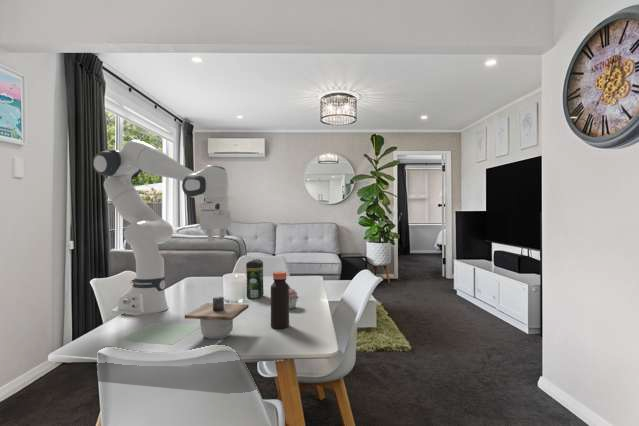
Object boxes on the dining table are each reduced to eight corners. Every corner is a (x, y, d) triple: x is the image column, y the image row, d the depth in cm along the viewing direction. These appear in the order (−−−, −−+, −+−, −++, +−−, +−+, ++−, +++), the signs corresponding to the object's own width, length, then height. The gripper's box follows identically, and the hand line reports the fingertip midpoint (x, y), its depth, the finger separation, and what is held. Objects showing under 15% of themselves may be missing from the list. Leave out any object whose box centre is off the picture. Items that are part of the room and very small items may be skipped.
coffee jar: (249, 294, 187) (249, 258, 187) (265, 294, 186) (264, 258, 186) (244, 299, 177) (244, 261, 177) (260, 299, 176) (260, 261, 176)
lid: (184, 318, 118) (184, 302, 118) (206, 305, 134) (206, 292, 134) (231, 320, 116) (231, 304, 116) (248, 307, 131) (248, 293, 131)
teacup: (224, 343, 117) (224, 318, 117) (193, 341, 119) (193, 317, 119) (241, 330, 131) (241, 307, 131) (213, 328, 133) (213, 306, 133)
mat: (116, 342, 119) (116, 340, 119) (154, 323, 138) (154, 322, 138) (171, 346, 115) (171, 344, 115) (203, 326, 135) (203, 325, 135)
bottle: (284, 330, 130) (284, 274, 130) (267, 328, 132) (267, 273, 132) (292, 324, 137) (291, 271, 136) (275, 322, 139) (275, 270, 139)
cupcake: (299, 310, 157) (299, 287, 156) (277, 310, 156) (277, 287, 156) (298, 304, 166) (298, 282, 166) (278, 305, 165) (277, 283, 165)
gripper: (220, 206, 156) (221, 238, 156) (196, 205, 136) (196, 242, 136) (234, 206, 155) (234, 238, 155) (212, 205, 135) (212, 242, 135)
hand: (216, 240), depth 145 cm, fingers open, 8 cm apart
